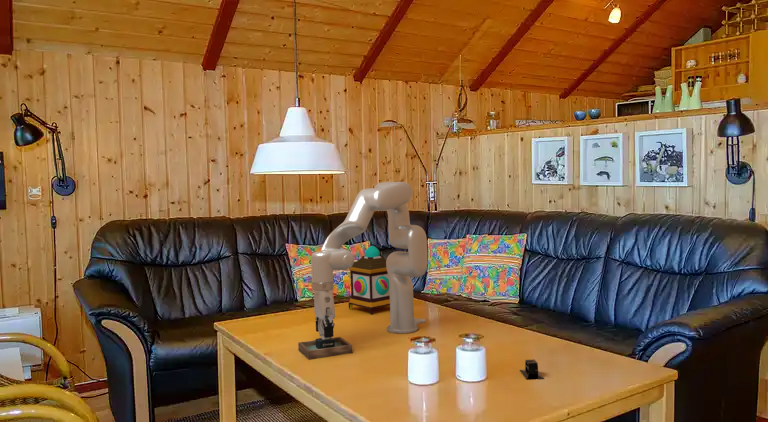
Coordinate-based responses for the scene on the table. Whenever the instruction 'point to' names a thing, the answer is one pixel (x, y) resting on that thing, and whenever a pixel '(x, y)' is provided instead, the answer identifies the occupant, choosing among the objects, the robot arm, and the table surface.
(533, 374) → the black block
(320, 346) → the watch
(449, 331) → the table surface
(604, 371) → the table surface
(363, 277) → the decorative lantern
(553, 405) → the table surface
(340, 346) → the watch tray
